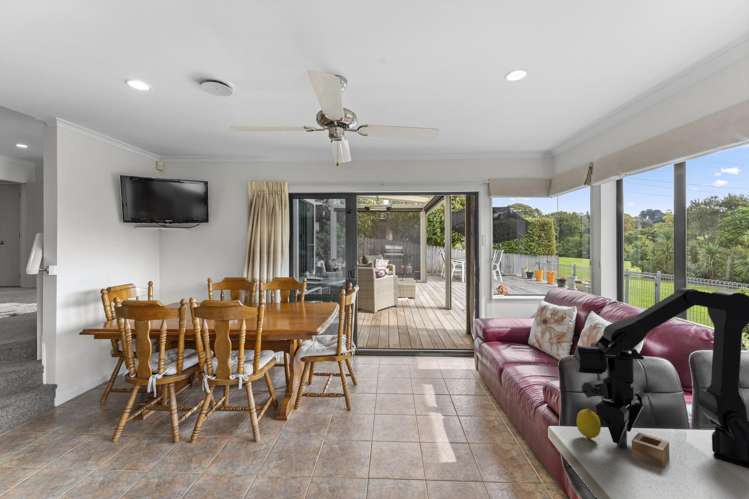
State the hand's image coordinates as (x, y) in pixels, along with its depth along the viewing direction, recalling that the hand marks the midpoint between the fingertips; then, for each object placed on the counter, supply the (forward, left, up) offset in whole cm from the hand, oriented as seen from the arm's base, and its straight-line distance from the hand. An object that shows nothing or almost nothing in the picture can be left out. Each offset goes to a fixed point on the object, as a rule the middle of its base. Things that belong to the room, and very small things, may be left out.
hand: (621, 436), depth 91 cm
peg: (0, 0, -3) cm, 3 cm away
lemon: (+7, +2, -3) cm, 8 cm away
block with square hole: (-6, +1, -3) cm, 7 cm away
